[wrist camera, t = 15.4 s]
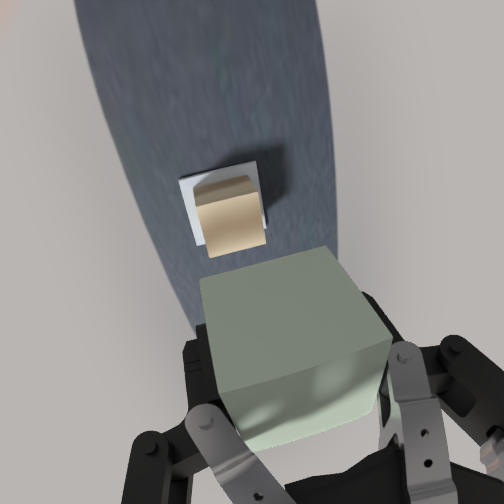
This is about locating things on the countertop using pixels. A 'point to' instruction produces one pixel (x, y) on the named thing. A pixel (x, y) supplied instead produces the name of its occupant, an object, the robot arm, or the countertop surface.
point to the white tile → (210, 177)
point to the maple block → (229, 215)
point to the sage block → (293, 347)
